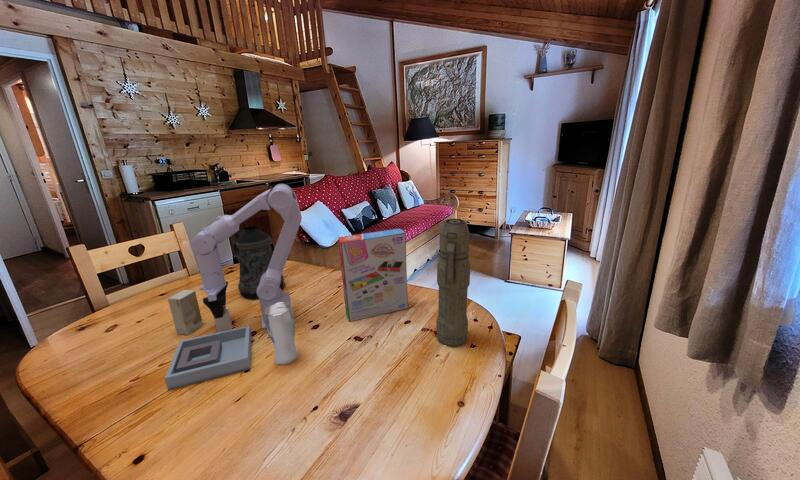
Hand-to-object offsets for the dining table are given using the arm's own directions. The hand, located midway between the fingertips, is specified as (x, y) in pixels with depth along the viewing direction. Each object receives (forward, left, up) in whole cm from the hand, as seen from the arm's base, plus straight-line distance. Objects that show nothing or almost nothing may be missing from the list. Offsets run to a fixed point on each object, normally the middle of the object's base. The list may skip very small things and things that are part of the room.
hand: (220, 311), depth 101 cm
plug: (0, 0, -6) cm, 6 cm away
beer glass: (-17, +23, -6) cm, 29 cm away
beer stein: (-10, -24, -6) cm, 27 cm away
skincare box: (+10, -4, -6) cm, 12 cm away
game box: (-47, +11, -6) cm, 49 cm away
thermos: (-62, +34, -6) cm, 71 cm away
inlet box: (+1, +16, -6) cm, 17 cm away
